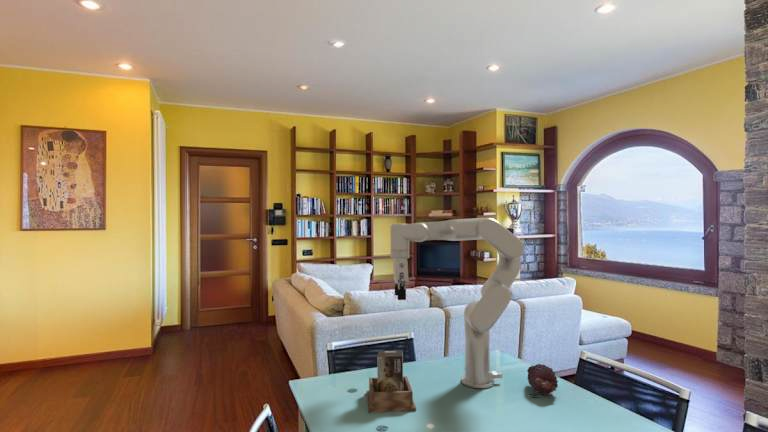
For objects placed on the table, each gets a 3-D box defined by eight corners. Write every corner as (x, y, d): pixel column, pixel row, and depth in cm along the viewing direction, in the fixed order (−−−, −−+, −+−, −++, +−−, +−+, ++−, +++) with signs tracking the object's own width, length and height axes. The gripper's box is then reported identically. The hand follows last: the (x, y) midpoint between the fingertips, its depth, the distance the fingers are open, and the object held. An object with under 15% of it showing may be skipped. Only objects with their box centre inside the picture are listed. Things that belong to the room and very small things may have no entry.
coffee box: (403, 395, 152) (403, 350, 152) (403, 402, 145) (403, 356, 145) (378, 394, 152) (378, 349, 152) (377, 402, 146) (376, 355, 146)
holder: (409, 391, 157) (409, 375, 157) (416, 410, 141) (416, 393, 141) (366, 393, 156) (366, 376, 156) (368, 412, 140) (368, 394, 140)
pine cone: (519, 383, 165) (519, 357, 165) (544, 382, 166) (544, 356, 166) (539, 402, 147) (538, 374, 147) (566, 401, 148) (566, 373, 148)
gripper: (412, 256, 159) (412, 301, 159) (406, 252, 176) (406, 293, 176) (392, 256, 159) (393, 301, 158) (388, 252, 176) (388, 293, 176)
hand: (400, 297), depth 167 cm, fingers open, 9 cm apart
